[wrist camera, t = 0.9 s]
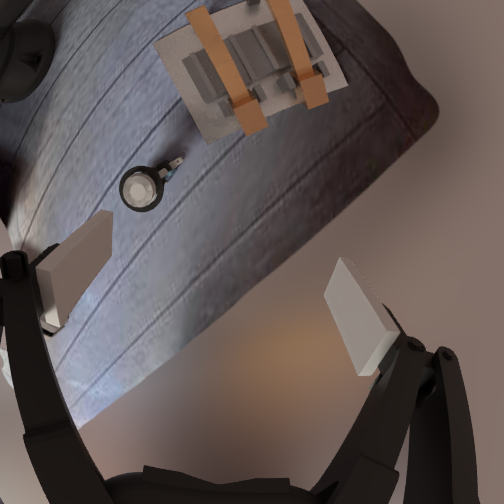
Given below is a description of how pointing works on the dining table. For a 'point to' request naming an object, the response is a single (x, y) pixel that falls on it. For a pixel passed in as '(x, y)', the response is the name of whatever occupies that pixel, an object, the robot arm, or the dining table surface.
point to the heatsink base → (244, 64)
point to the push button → (146, 185)
